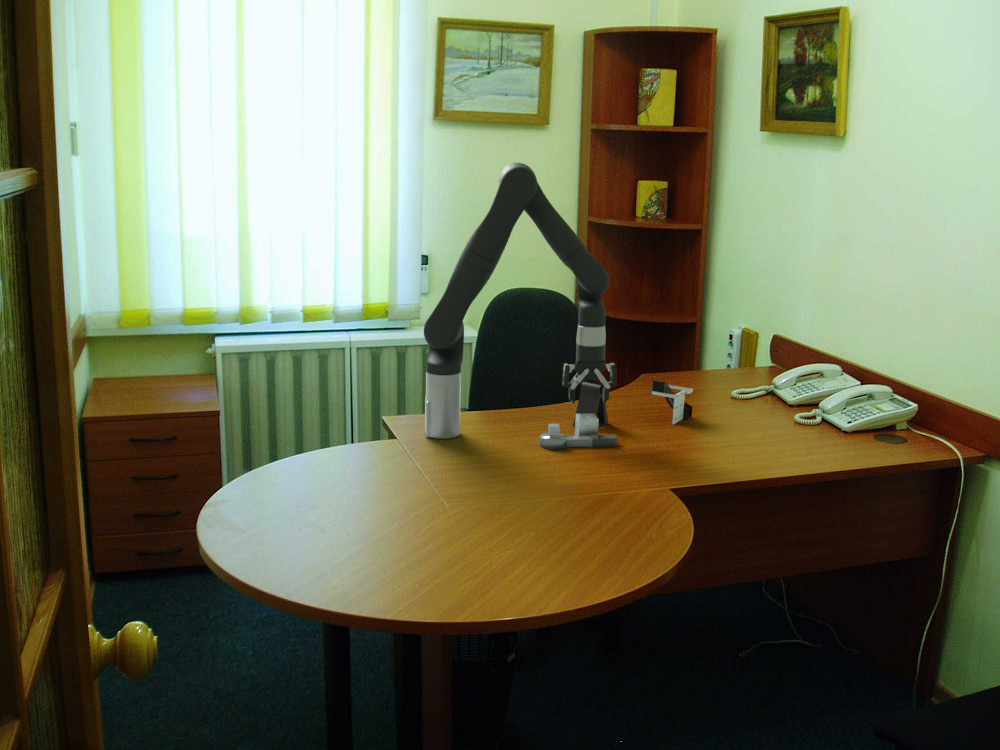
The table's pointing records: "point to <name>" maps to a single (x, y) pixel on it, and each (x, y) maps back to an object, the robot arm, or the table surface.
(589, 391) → the dark folded stand
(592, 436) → the ratchet
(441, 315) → the robot arm
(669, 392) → the two-tone angle bracket
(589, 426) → the small white cube
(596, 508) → the table surface
